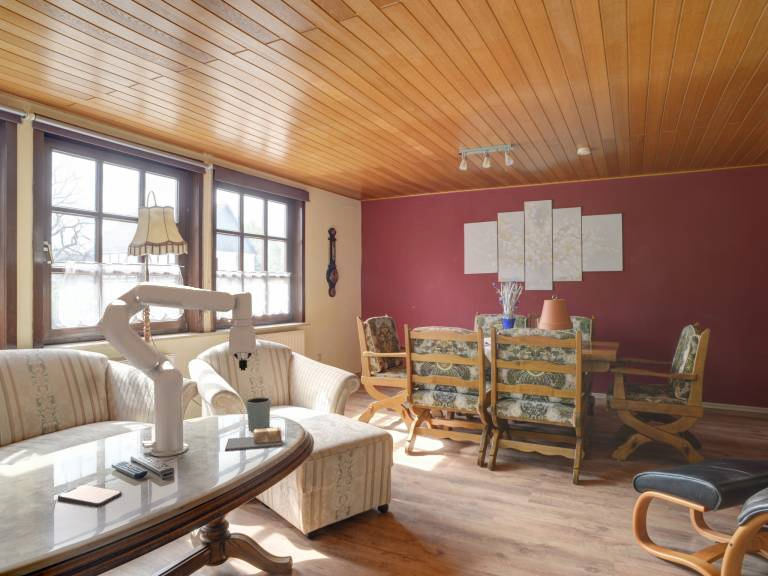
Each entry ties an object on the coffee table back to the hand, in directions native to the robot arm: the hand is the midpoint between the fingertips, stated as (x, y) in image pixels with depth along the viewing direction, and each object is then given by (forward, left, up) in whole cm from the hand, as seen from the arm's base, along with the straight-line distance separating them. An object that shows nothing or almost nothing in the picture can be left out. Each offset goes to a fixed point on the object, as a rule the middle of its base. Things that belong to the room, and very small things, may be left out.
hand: (243, 369), depth 195 cm
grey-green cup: (+5, +13, -27) cm, 31 cm away
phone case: (-40, -44, -28) cm, 66 cm away
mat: (+4, -7, -27) cm, 28 cm away
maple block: (+4, -7, -24) cm, 26 cm away
